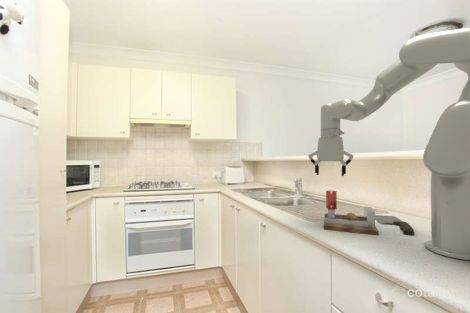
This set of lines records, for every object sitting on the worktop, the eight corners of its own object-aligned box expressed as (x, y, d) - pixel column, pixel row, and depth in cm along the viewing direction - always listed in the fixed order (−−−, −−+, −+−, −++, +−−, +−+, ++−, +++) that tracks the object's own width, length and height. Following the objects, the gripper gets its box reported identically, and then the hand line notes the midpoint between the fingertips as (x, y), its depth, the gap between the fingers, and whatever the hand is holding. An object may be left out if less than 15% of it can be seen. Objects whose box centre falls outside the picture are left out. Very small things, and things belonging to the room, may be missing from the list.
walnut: (356, 222, 92) (356, 212, 92) (357, 224, 88) (357, 214, 88) (345, 221, 94) (345, 211, 94) (346, 223, 90) (345, 213, 90)
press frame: (370, 221, 93) (370, 206, 93) (375, 228, 83) (375, 212, 84) (324, 217, 100) (324, 203, 100) (324, 223, 90) (323, 208, 90)
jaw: (336, 218, 96) (336, 190, 96) (337, 223, 90) (336, 192, 90) (326, 217, 98) (326, 189, 98) (326, 222, 91) (325, 192, 92)
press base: (371, 223, 95) (371, 220, 95) (378, 235, 80) (378, 230, 81) (324, 219, 102) (324, 216, 102) (323, 229, 87) (323, 225, 87)
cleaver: (422, 237, 79) (422, 231, 79) (389, 234, 82) (389, 228, 82) (394, 218, 107) (394, 213, 107) (370, 216, 110) (370, 212, 110)
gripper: (352, 134, 95) (352, 175, 95) (309, 135, 101) (308, 174, 101) (354, 132, 88) (354, 176, 88) (307, 133, 95) (307, 175, 94)
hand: (330, 175), depth 95 cm, fingers open, 9 cm apart
